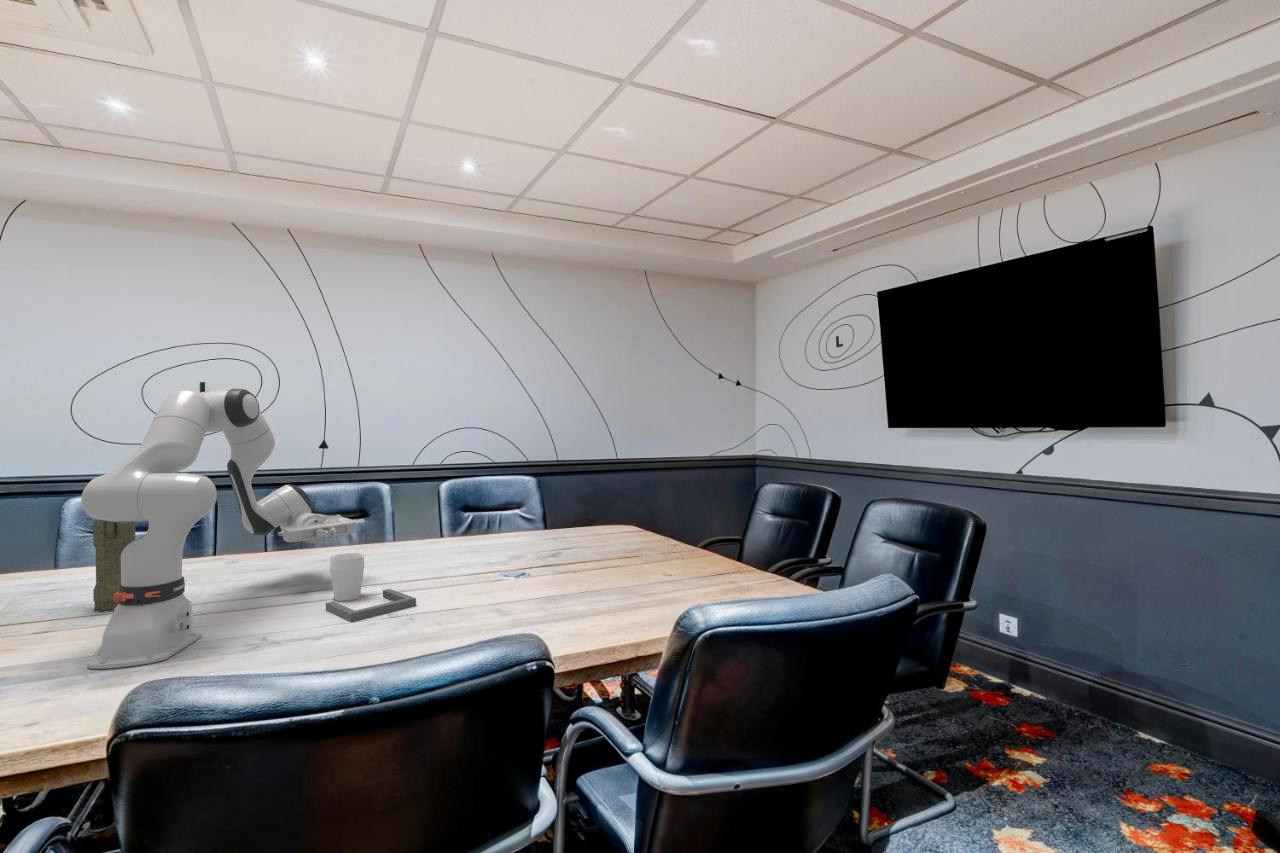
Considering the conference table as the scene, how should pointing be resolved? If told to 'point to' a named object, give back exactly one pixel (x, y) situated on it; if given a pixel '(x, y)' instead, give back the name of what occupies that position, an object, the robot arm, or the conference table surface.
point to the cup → (347, 575)
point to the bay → (398, 603)
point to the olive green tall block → (109, 559)
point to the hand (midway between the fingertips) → (331, 533)
